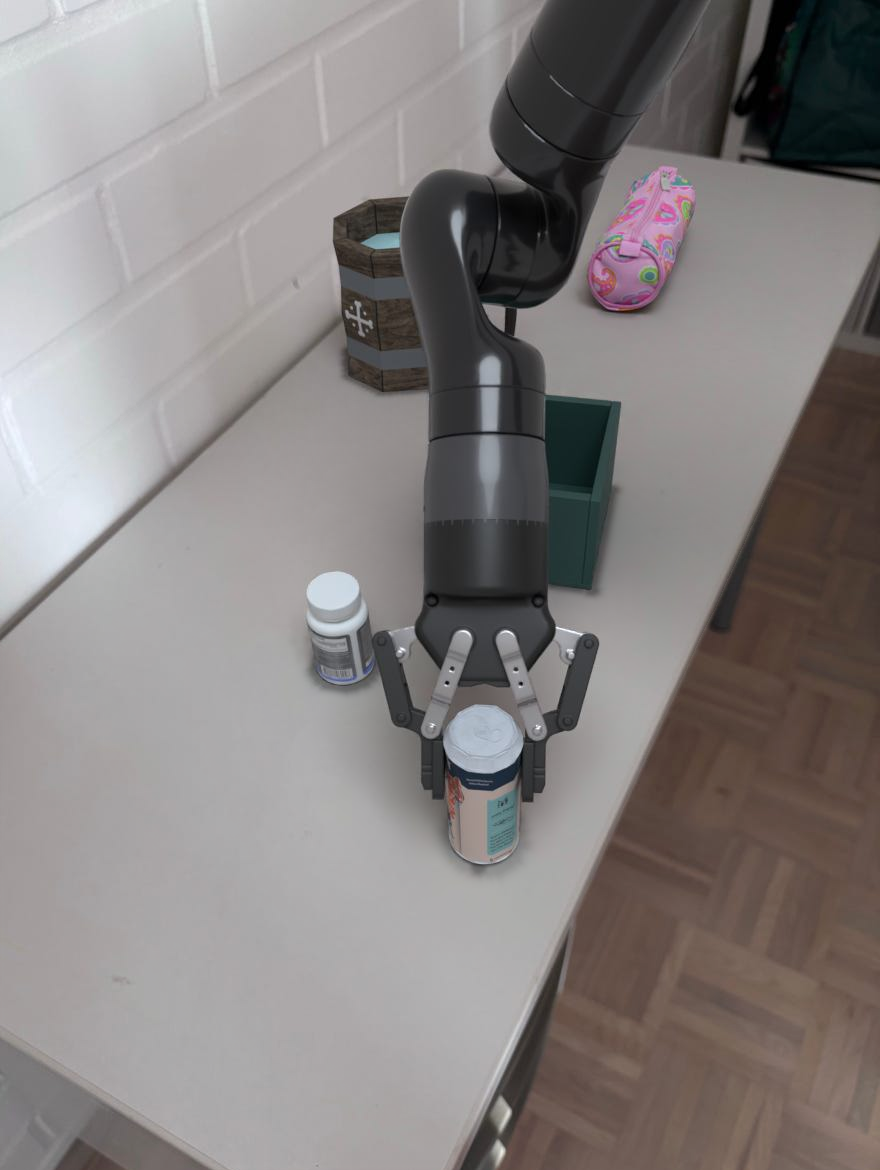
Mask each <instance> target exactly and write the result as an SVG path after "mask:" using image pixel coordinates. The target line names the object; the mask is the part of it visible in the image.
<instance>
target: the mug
mask: <svg viewBox="0 0 880 1170" xmlns="http://www.w3.org/2000/svg"><path fill="white" fill-rule="evenodd" d="M409 196H410V195H407V196H394V197H393V196H392V197H383V198H369V199H367V200H365V201H363V202H361V203H359V204H358V205H355V206H354V207H352V208H350V209H348V210H346V211H344V212H341V213H339V214H338V215H336V216H335V217H333V219H332V220H333V221H332V222H333V223H332V244H333V248H334V252H335V256H336V262H337V265H338V274H339V282H340V302H341V304H340V306H341V316H342V320H343V327H344V331H345V335H346V336H345V337H346V343H347V352H348V376H349V377H350V378H353V379H355V380H357V381H359V382H361V383H363V384H365V385H367V386H370V387H372V388H373V389H375V390H377V391H380V392H382V393H388V392H400V391H401V392H403V391H415V390H427V389H428V390H429V378H428V372H427V366H426V361H425V357H424V353H423V349H422V344H421V340H420V335H419V331H418V326H417V322H416V318H415V314H414V311H413V307H412V304H411V300H410V297H409V293H408V289H407V286H406V282H405V278H404V273H403V268H402V264H401V257H400V244H399V235H400V225H401V218H402V214H403V211H404V208H405V205H406V202H407V200H408V198H409ZM504 309H505V310H504V330H503V332H505V333H507V334H509V335H511V336H514V337H515V334H516V326H517V316H518V309H515V308H507V307H504Z"/></svg>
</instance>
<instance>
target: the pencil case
mask: <svg viewBox="0 0 880 1170" xmlns="http://www.w3.org/2000/svg"><path fill="white" fill-rule="evenodd" d="M678 170H679V168H678V167H675V166H668V165H667V166H666V165H660V166H659V168H657V170H655V171H652V172H649V173H647V174H645V175H644V176H642V177H640V178H638V180H634V181H633V183H632V184H631V186H630V188H629V190H628V192H627V193H626V195H625V198H624V202H623V205H622V206H621V207H620V209H619V210H618V212H617V214H616V216H615V218H614V220H613V222H612V223H611V224H610V225H609V227H608V228H607V229H606V230H605V231H604V232H603V235H602V236H601V237H600V239H598V241H597V243H596V245H595V249H594V250H593V252H592V254H591V256H590V258H589V261H588V265H587V268H586V280H587V285H588V288H589V290H590V292H591V294H592V296H593V297H594V298H595V299H596V301H597V302H598V303H599V304H600V305H601V306H602V307H604V308H605V309H607V310H610V311H617V312H623V311H632V310H637V309H640V308H644V307H645V306H647V305H648V304H650V303H651V302H653V301H654V300H655V299H656V298H657V297H658V295H659V294H660V292H661V291H662V289H663V286H664V284H665V282H667V281H666V280H667V279H668V278H669V276H670V275H671V273H672V271H673V268H674V267H675V262H676V257H677V255H678V252H679V250H680V248H681V246H682V243H683V240H684V236H685V233H686V231H687V229H688V227H689V226H690V224H691V221H692V219H693V217H694V213H695V208H696V205H697V204H696V202H697V196H696V191H695V188H694V186H693V185H692V183H690V181H688V180H687V178H684V177H683V176H682V175H680V174H679V173H678V174H677V172H678Z"/></svg>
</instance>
